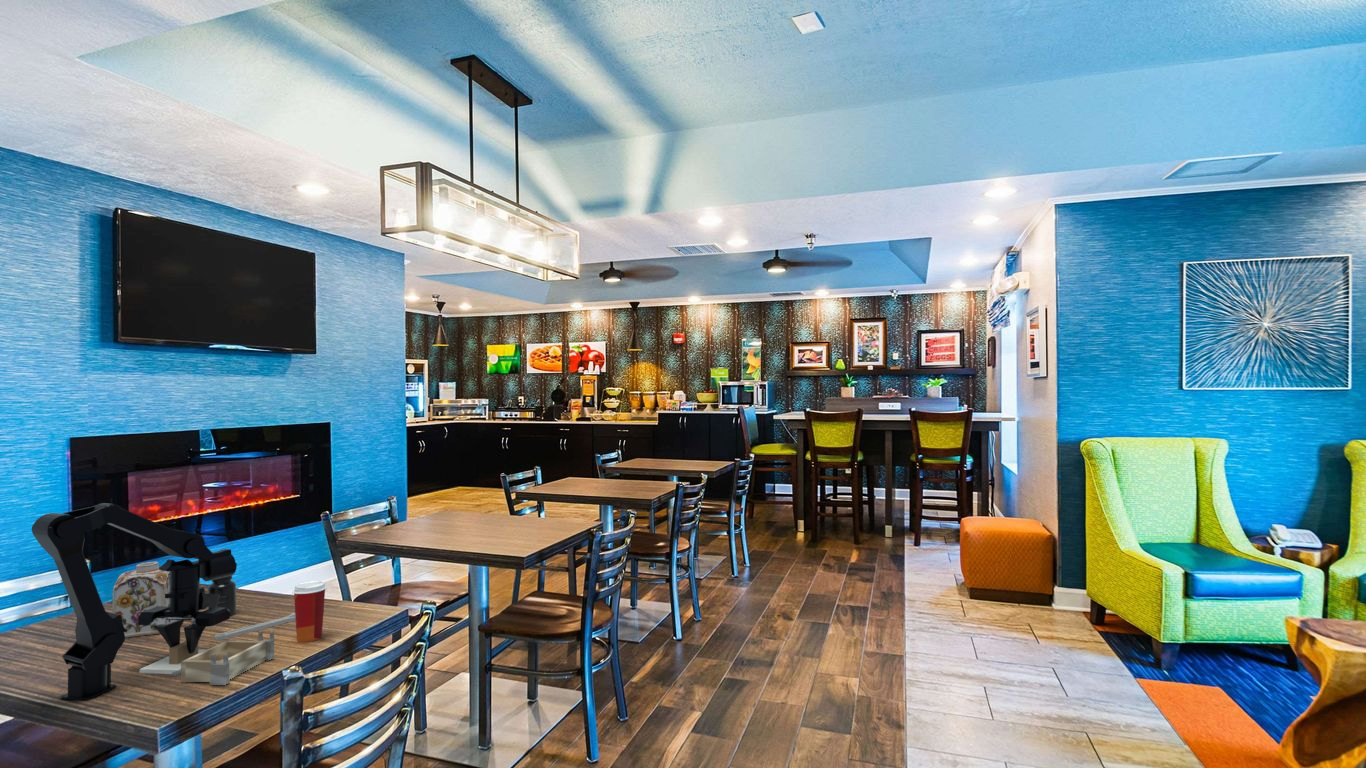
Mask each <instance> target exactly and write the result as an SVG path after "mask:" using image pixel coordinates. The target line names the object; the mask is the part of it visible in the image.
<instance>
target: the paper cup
mask: <svg viewBox="0 0 1366 768" xmlns="http://www.w3.org/2000/svg"><path fill="white" fill-rule="evenodd" d="M326 589H327V586H326V584H325V582H324V581H320V580H314V581H312V580H311V581H306V582H301V583H297V584H296V585H295V586H294V588H293V590H292V593H293V597H294V598H293V599H294V613H295V619H296V622H295V630H296V631H295V632H296V633H295V634H296V641H297V642H298V643H301V642H303V644H304V643H311V642H316V641H318V640H321V638H322V635H323V624H324V622H323V621H324V614H325V613H324V611H325V596H326V595H325V594H326Z"/></svg>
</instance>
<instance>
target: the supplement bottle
mask: <svg viewBox="0 0 1366 768" xmlns="http://www.w3.org/2000/svg"><path fill="white" fill-rule="evenodd" d="M232 579H233V575H232V576H228V577H223V578H219V579H215V580H211V582H212V583H211V584H209V585H208V586H207V593H208V594H219V595H220V597H219V601H218V604H217V607H221V608H227V609H229V611H230V615H231V616H233V615H235V614H236V612H237V583H236V582H235V581H233V580H232ZM210 608H212V607H207V610H208V609H210ZM234 613H235V614H234Z"/></svg>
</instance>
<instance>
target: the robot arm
mask: <svg viewBox="0 0 1366 768" xmlns="http://www.w3.org/2000/svg"><path fill="white" fill-rule="evenodd" d="M104 525H109V526H111V527H114V528H117V529H119V530H121V531H124V532H126V533H129V534H131V535H133V536H137V537H139V538H141V539H143V540H147V541H149V542H151V543H152V544H154V545H155V546H156V547H157V548H158V549H159V550H161V551H163V552H164V553H166V554H167V555H170V556H172V557H175V558H182V560H176V561H175V560H174V559H170V558H169V559H167V560H166V561H165V562H164V563H163V564H162V565H160V566H161V567H160V566H159V570H162V571H167V572H169V571H170V592H169V593H166V594H165V598H169V607H168V606H157V607H155V608H152V609H149V610H146V611H143V612H141V614H140V615H139V617H138V625H150V624H151V623H152V622H153V621H154V620H156V626H154V629H157V630H158V632H159V633H160V634H159V635H160V636H161V637H162V638H163V639H164V641H165V642H166V643H167V645H168V647H169V648H172V647H174V646H176V645H178V644H181V627H183V624H184V622H185V621H191V622H190V624H189V625H187V626H184V627H183V631H184V636H185V637H184V638H185V641H186V643H187V648H188V651H189V654H191V653H193V652H194V651H195V649H196V646H197V644H198V645H199V641H200V639H201V637H202V635H203V632H204V631H205V629H206V627H214V626H216V625H218V624H220V623H223V622H225V621H227V620H230V611H229V609H227V608H221V607H217V604H218V601H219V597H220V595H219V594H208V592H206V589H205V587H204V586H202V587H201V586H200V585H201V584H200V583H201V582H200V581H201V580H203V581H204V582H210V581H212V580H215V579H219V578H223V577H228V576H232V577H233V575H235V573H236V572H237V566H238V564H237V562H236V559H235V557H234V555H233V554H232V549H231V548H223V549H220V550H216V551H211V549H209V547H207V545H206V543H205V538H204V537H203V536H202V535H200V534H198V533H194V532H190V531H185V530H182V529H181V530H179V529H175V528H170V527H167V526H164V525H162V524H159V522H155V521H153V520H151V519H148V518H147V517H144V516H141V515H139V514H136V513H134V512H132V511H130V510H127V509H125V508H122V507H121V506H120V505H118V504H115V503H106V502H103V503H98V504H96V505H93V506H88V507H84V508H80V509H76V510H75V509H74V510H71V511H70V510H69V511H66V512H63V513H59V512H50V513H49V512H48V513H46V514H43V515H41V516H40V517H38V518H37V519H36V520H35V521H34V523H33V524H32V526H31V533H32V535H33V537H34V538H35V539H36V541H37V542H38V544H39V545H40V546H41V548H42V549H43V550H45V552H46V553H47V554H49V556H50V557H51V558H52V560H53V562H54V563H55V566H56V569H57V570H58V573H59V575H60V578H61V581H62V584H63V586H64V588H65V591H66V593H67V596H68V598H69V601H70V603H71V606H72V609H73V611H74V614H75V616H76V623H75V629H74V631H75V639H76V641H75V643H73V644H72V645H71V646H70V647H69V648H68V650H67V651H65V652H64V653H63V655H62V656H61V657H62V660H63V662H64V664H65V665H70V668H68V669H67V693H64V694H63V695H61V696H60V700H76V701H77V700H80V701H81V700H82V701H85V700H86V701H88V700H91V699H93V698H95V697H98V696H100V695H102V694H104V693H106V692H108V691H111V690H113V689H115V688H116V687H117V684H114V683H113V684H111V683H112V664H113V663H114V661H115V659H116V656H117V654H118V651H119V650H120V648H121V647H122V646H123V644H124V643H125V641H126V638H125V634H124V632H127V630H126V629H125V628H124V626H123V623H122V618H121V615H118V614H114V613H112V612H109V611H106V609H105V606H104V604H103V601H102V598H101V597H100V592H99V591H98V587H97V586H96V583H95V580H94V578H93V575H92V573H91V570H90V567H89V565H88V562H87V560H86V557H85V555H84V544H85V540H86V539H85V538H86V537H85V533H88V532H92V531H94V530H96V529H98V528H100V527H103V526H104ZM190 559H191V560H192V559H196V560H194V561H191V560H190ZM208 607H212V608H210V609H208ZM205 609H206V610H205Z"/></svg>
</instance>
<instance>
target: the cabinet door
mask: <svg viewBox="0 0 1366 768" xmlns="http://www.w3.org/2000/svg"><path fill="white" fill-rule="evenodd" d="M168 649H169V650H168V651H169V653H168V654H169V655H167V656H166V657H164V658H161V659H160V660H157V661H154V662H152V663H150V664H148V665H146V666H144V667H141V668H139V674H165V675H171V677H178V676H179V675H180V676H181V662H182V661H184V660H186V659H188V658H190V657H192V656H194V655H196V654H199V653H201V652H203V651H205V650H207V649H205V648H204V649H202V648H201V649H199V643H198V644H197V646H196V649H195V651H194V652H193V653H191V654H189V651H188V648H187V643H186V640H185V641H184V642H180V644H178V645H176V646H174V647H172V648H170V647H169V648H168Z"/></svg>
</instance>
